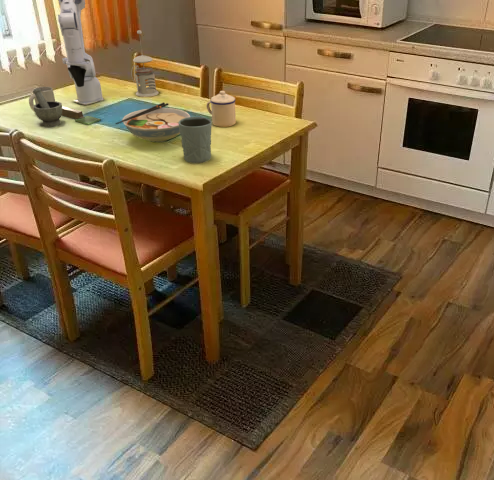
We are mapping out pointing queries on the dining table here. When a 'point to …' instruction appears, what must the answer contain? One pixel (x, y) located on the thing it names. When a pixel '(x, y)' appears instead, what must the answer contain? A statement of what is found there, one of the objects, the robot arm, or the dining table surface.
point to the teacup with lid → (222, 110)
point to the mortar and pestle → (47, 110)
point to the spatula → (78, 116)
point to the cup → (47, 94)
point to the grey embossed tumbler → (196, 139)
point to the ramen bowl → (155, 123)
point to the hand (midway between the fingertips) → (80, 86)
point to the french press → (144, 76)
